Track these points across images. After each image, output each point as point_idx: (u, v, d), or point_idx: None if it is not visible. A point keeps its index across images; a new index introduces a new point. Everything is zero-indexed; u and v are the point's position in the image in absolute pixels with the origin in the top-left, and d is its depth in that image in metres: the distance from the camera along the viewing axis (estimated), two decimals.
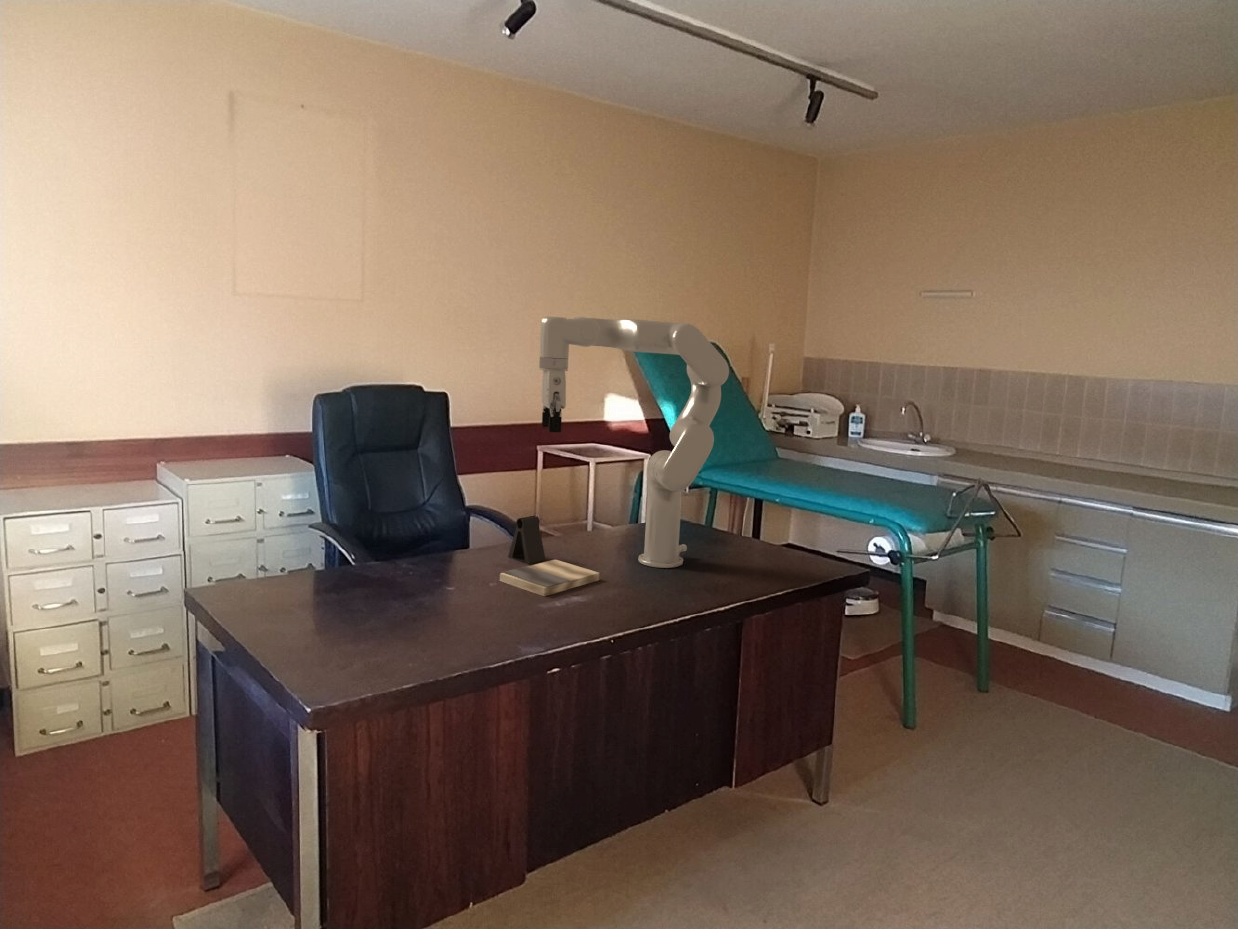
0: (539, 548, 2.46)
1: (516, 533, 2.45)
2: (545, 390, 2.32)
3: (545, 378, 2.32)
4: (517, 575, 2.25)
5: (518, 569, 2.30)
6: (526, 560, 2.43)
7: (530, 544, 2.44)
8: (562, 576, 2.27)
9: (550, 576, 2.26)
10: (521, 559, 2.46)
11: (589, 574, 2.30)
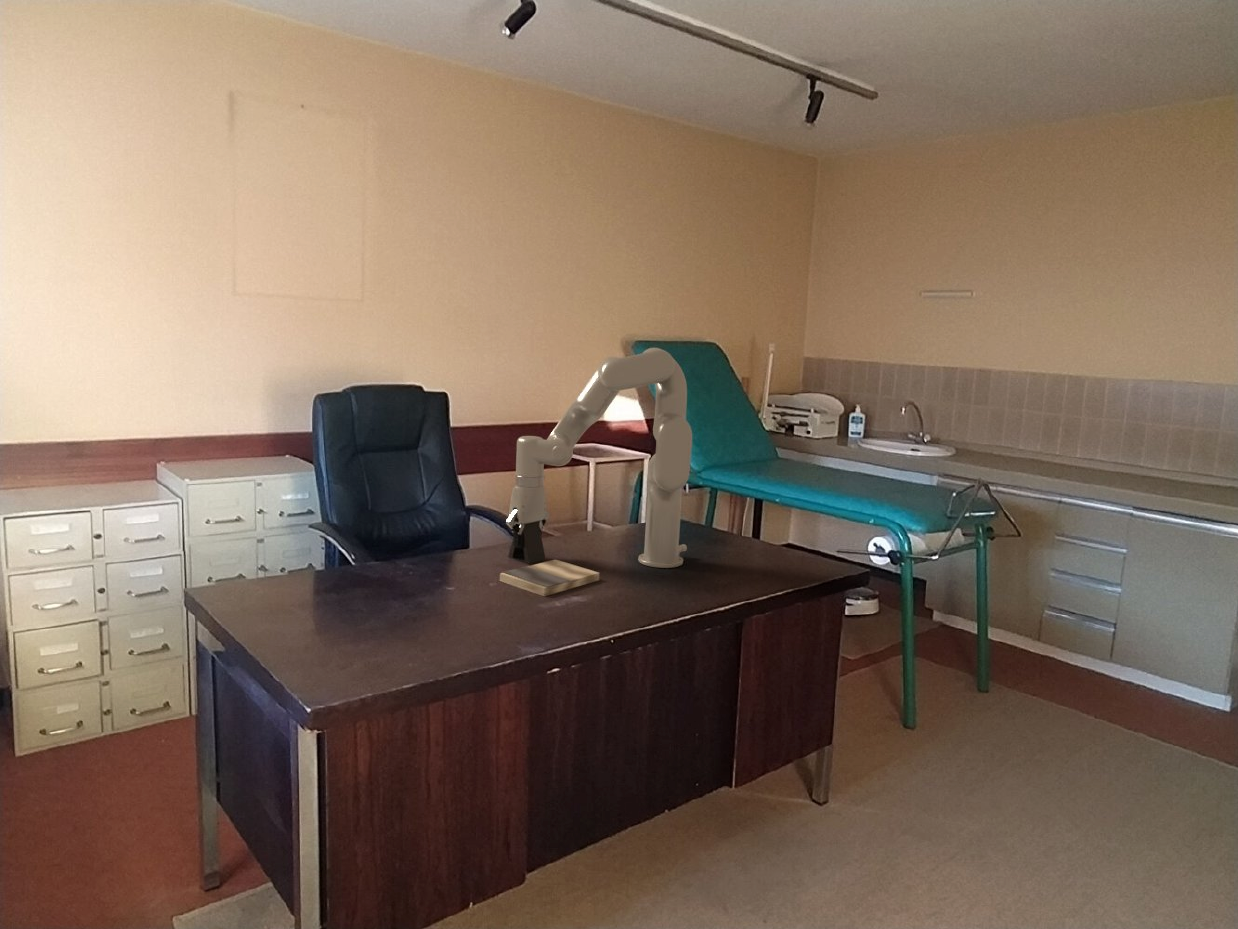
0: (539, 548, 2.46)
1: None
2: (540, 505, 2.45)
3: (540, 494, 2.45)
4: (517, 575, 2.25)
5: (518, 569, 2.30)
6: (526, 560, 2.43)
7: (530, 544, 2.44)
8: (562, 576, 2.27)
9: (550, 576, 2.26)
10: (521, 559, 2.46)
11: (589, 574, 2.30)
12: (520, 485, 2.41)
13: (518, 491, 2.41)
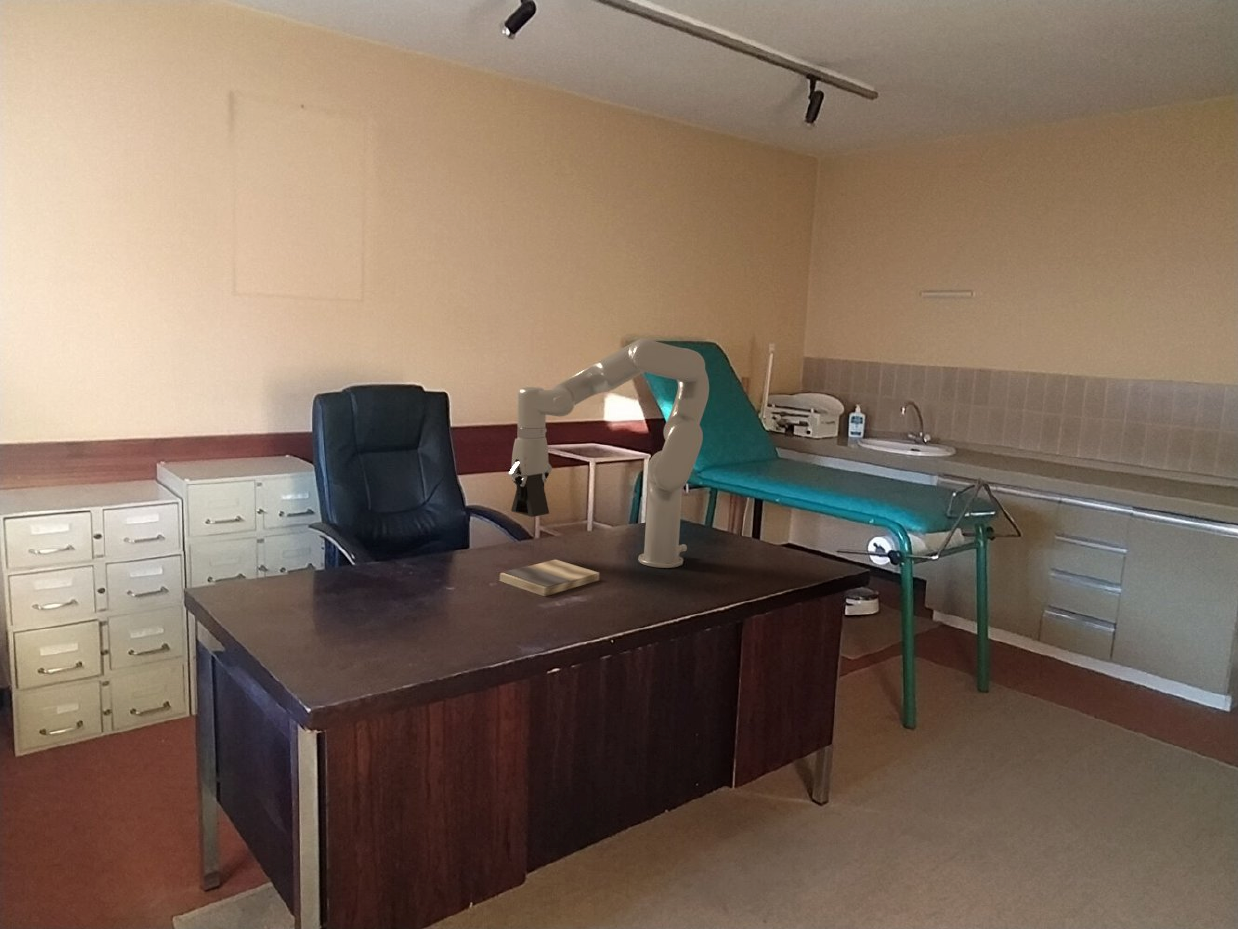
0: (542, 501, 2.44)
1: None
2: (543, 457, 2.43)
3: (542, 446, 2.42)
4: (517, 575, 2.25)
5: (518, 569, 2.30)
6: (529, 512, 2.41)
7: (533, 496, 2.42)
8: (562, 576, 2.27)
9: (550, 576, 2.26)
10: (524, 512, 2.44)
11: (589, 574, 2.30)
12: (522, 436, 2.39)
13: (520, 442, 2.38)
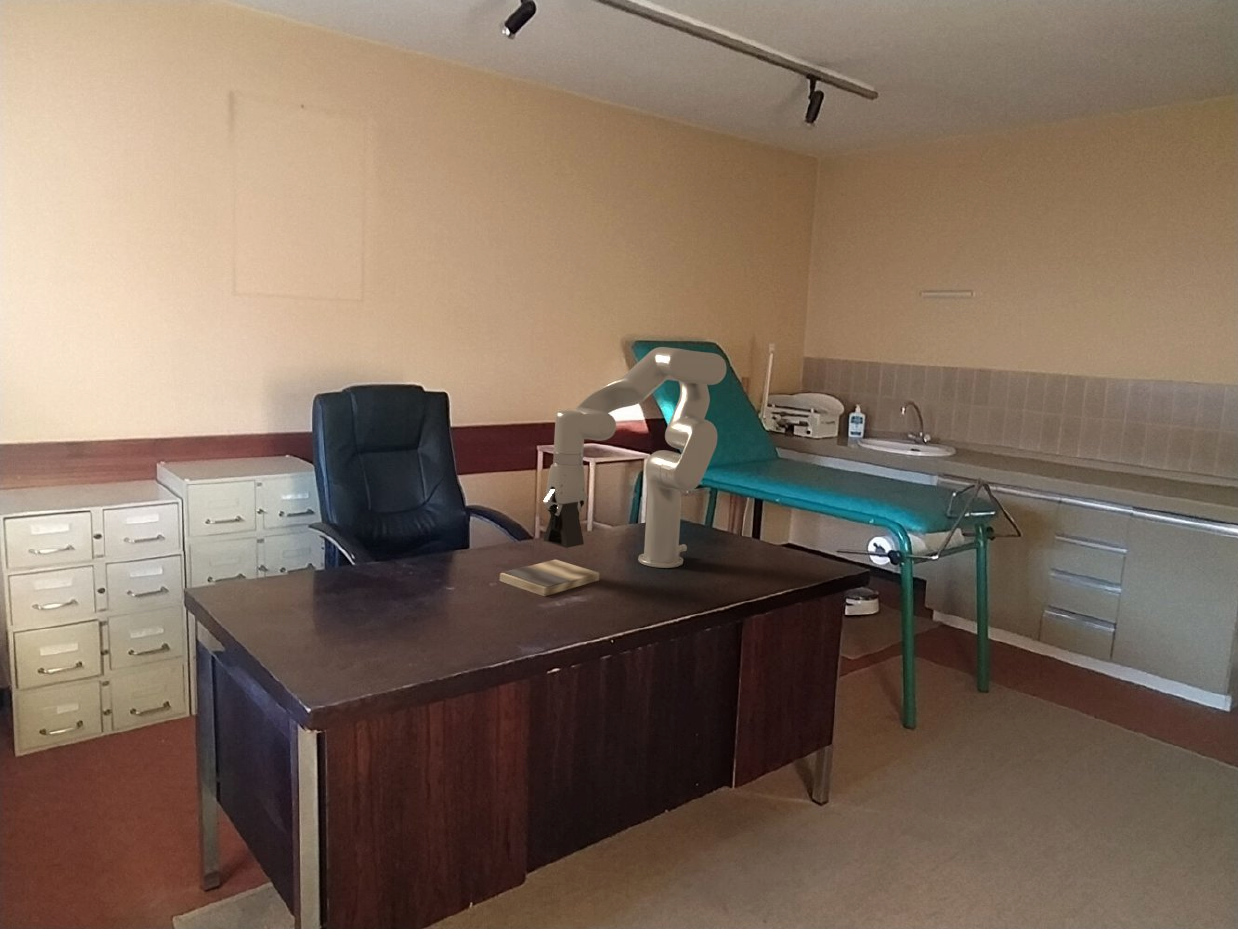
0: (577, 531, 2.30)
1: None
2: (579, 485, 2.29)
3: (579, 473, 2.28)
4: (517, 575, 2.25)
5: (518, 569, 2.30)
6: (563, 543, 2.27)
7: (568, 526, 2.28)
8: (562, 576, 2.27)
9: (550, 576, 2.26)
10: (558, 542, 2.30)
11: (589, 574, 2.30)
12: (559, 463, 2.25)
13: (557, 468, 2.25)
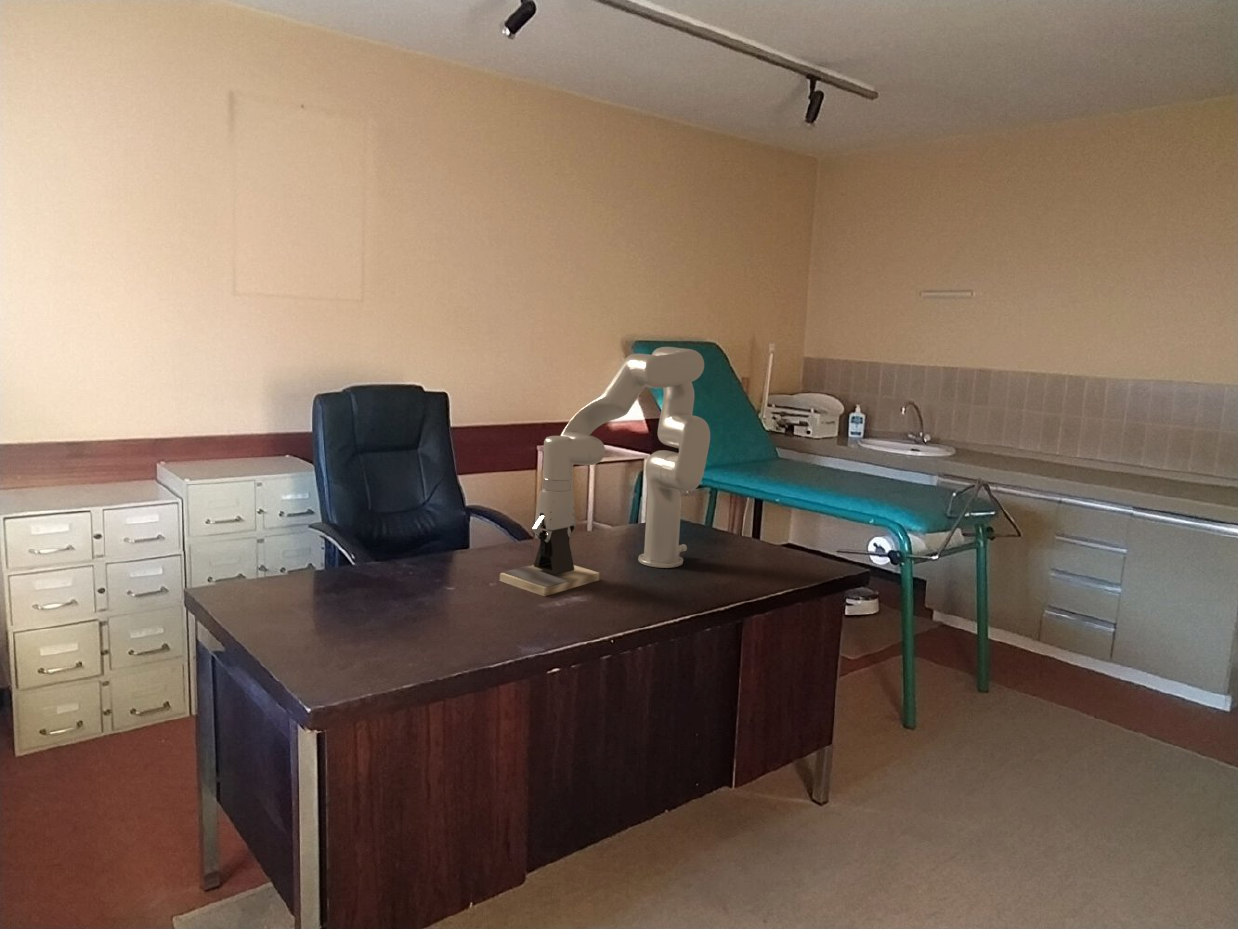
0: (567, 557, 2.28)
1: None
2: (569, 510, 2.28)
3: (568, 499, 2.27)
4: (517, 575, 2.25)
5: (518, 569, 2.30)
6: (554, 570, 2.26)
7: (558, 552, 2.26)
8: (562, 576, 2.27)
9: (550, 576, 2.26)
10: (548, 568, 2.28)
11: (589, 574, 2.30)
12: (547, 489, 2.23)
13: (546, 495, 2.23)
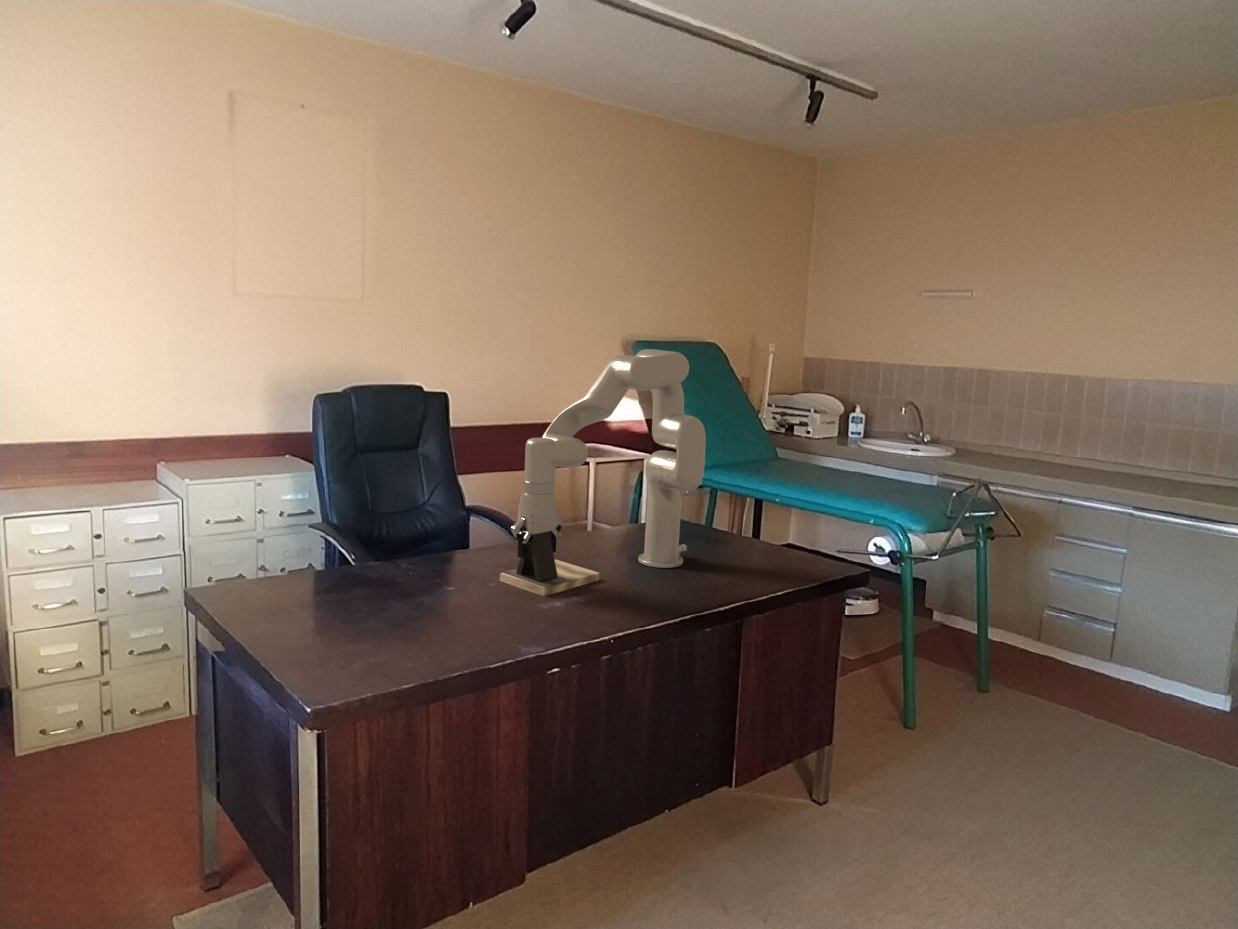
0: (550, 564, 2.24)
1: None
2: (551, 514, 2.23)
3: (551, 502, 2.22)
4: (517, 575, 2.25)
5: None
6: (536, 577, 2.21)
7: (541, 559, 2.22)
8: (562, 576, 2.27)
9: None
10: (531, 576, 2.24)
11: (589, 574, 2.30)
12: (529, 492, 2.19)
13: (527, 498, 2.18)
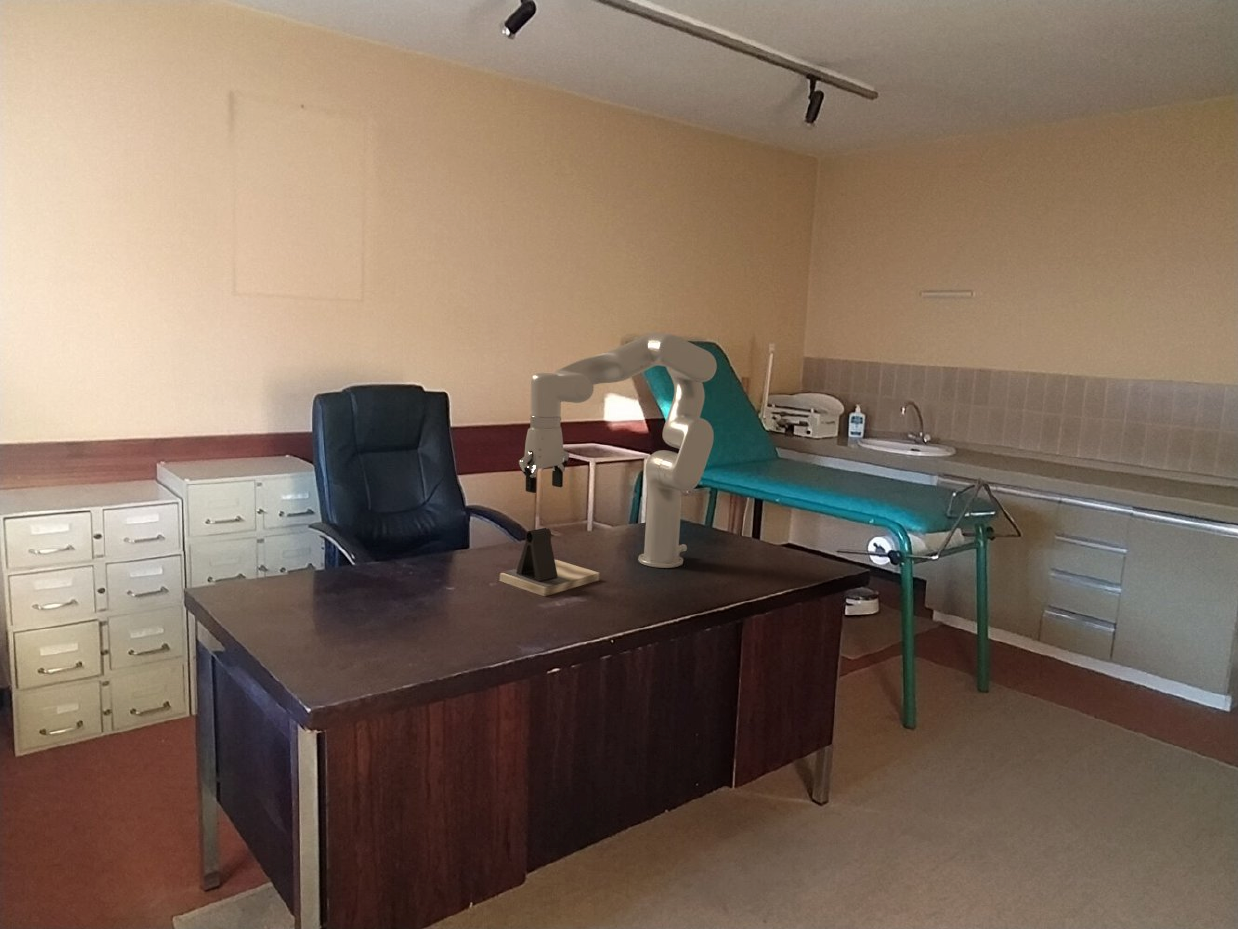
0: (550, 564, 2.24)
1: (525, 547, 2.23)
2: (557, 448, 2.26)
3: (557, 437, 2.25)
4: (517, 575, 2.25)
5: None
6: (536, 577, 2.21)
7: (541, 559, 2.22)
8: (562, 576, 2.27)
9: None
10: (531, 576, 2.24)
11: (589, 574, 2.30)
12: (536, 426, 2.22)
13: (534, 432, 2.21)
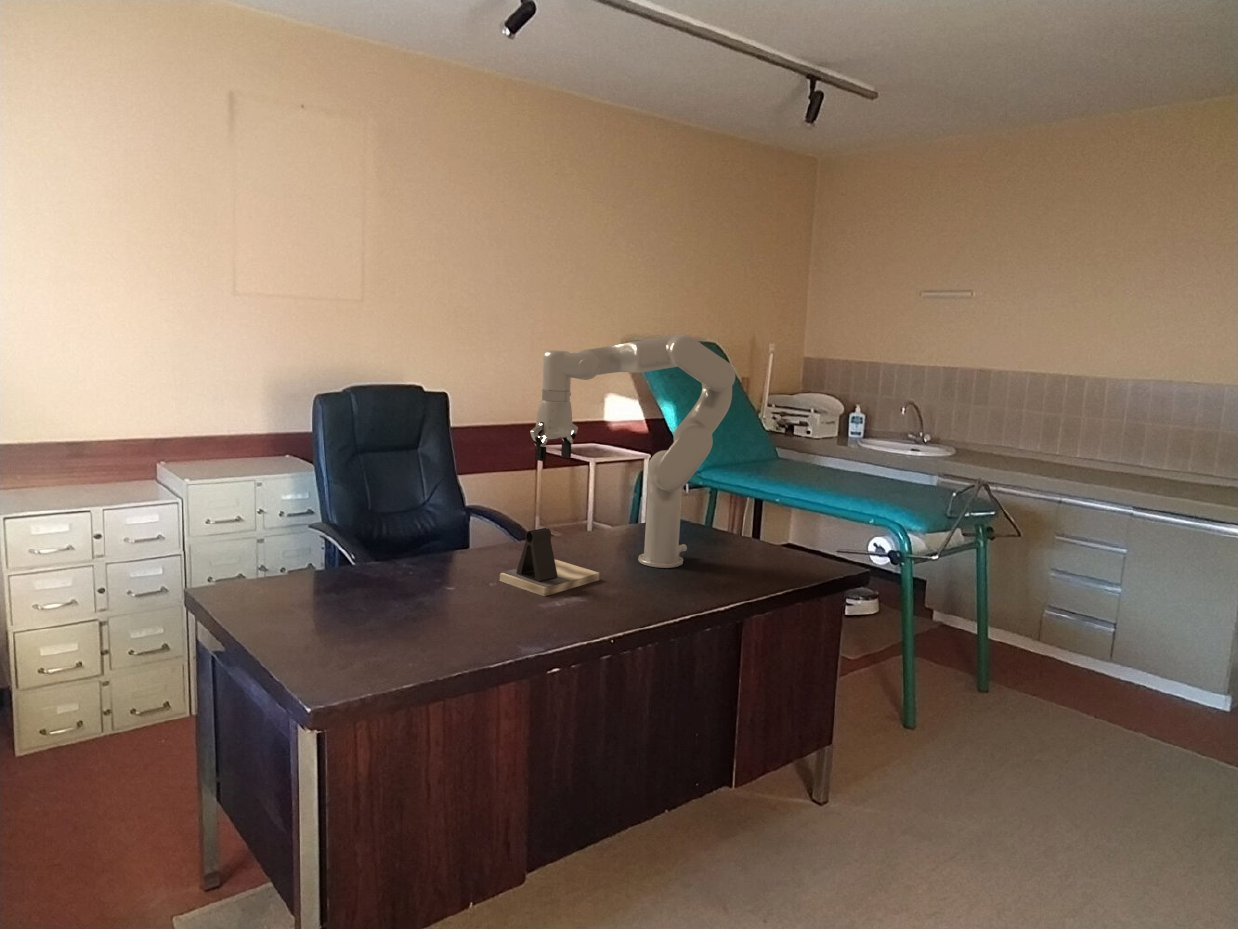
0: (550, 564, 2.24)
1: (525, 547, 2.23)
2: (567, 421, 2.43)
3: (566, 410, 2.42)
4: (517, 575, 2.25)
5: None
6: (536, 577, 2.21)
7: (541, 559, 2.22)
8: (562, 576, 2.27)
9: None
10: (531, 576, 2.24)
11: (589, 574, 2.30)
12: (547, 399, 2.38)
13: (545, 405, 2.38)
